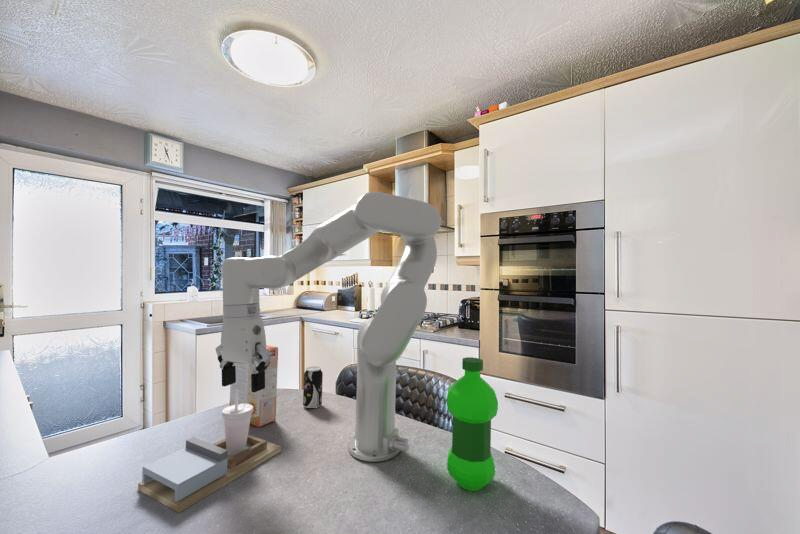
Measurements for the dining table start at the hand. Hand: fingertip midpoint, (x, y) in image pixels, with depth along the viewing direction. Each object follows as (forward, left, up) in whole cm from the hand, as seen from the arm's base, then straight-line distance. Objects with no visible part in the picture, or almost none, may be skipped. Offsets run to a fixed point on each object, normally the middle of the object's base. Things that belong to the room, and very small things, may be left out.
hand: (243, 387), depth 75 cm
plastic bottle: (-48, -16, -16) cm, 53 cm away
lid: (+1, +12, -14) cm, 19 cm away
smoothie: (+1, 0, -15) cm, 15 cm away
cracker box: (+15, -15, -16) cm, 27 cm away
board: (+1, +5, -16) cm, 17 cm away
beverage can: (+6, -30, -16) cm, 35 cm away
